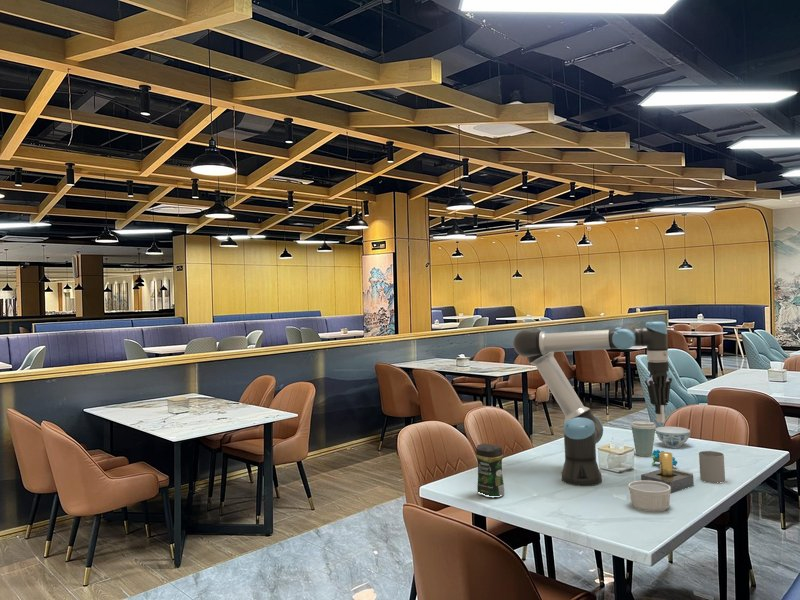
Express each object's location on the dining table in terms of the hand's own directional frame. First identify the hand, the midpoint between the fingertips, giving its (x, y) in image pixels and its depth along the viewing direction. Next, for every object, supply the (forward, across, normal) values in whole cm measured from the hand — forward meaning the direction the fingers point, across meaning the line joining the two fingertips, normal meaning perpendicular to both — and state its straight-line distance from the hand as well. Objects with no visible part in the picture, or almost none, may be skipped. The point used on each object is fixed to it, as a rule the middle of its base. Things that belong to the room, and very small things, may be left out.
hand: (660, 421), depth 225 cm
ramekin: (+22, -30, -18) cm, 41 cm away
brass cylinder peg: (+22, -6, -7) cm, 24 cm away
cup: (+22, +13, -12) cm, 28 cm away
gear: (+22, +15, +11) cm, 29 cm away
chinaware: (+22, +48, +31) cm, 61 cm away
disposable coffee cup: (+22, +24, +28) cm, 43 cm away
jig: (+22, -6, -7) cm, 24 cm away
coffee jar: (+22, -66, +22) cm, 73 cm away
